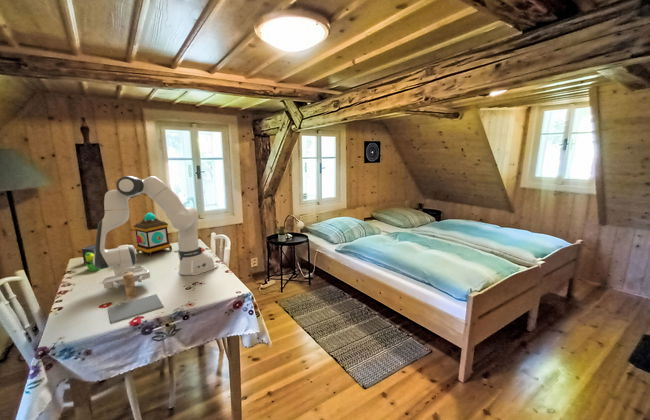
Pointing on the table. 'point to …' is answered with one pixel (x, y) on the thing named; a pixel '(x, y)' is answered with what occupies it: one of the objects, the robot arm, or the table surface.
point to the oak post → (129, 285)
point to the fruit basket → (90, 262)
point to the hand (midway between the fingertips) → (129, 283)
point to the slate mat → (134, 308)
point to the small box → (88, 249)
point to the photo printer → (130, 247)
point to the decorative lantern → (151, 235)
